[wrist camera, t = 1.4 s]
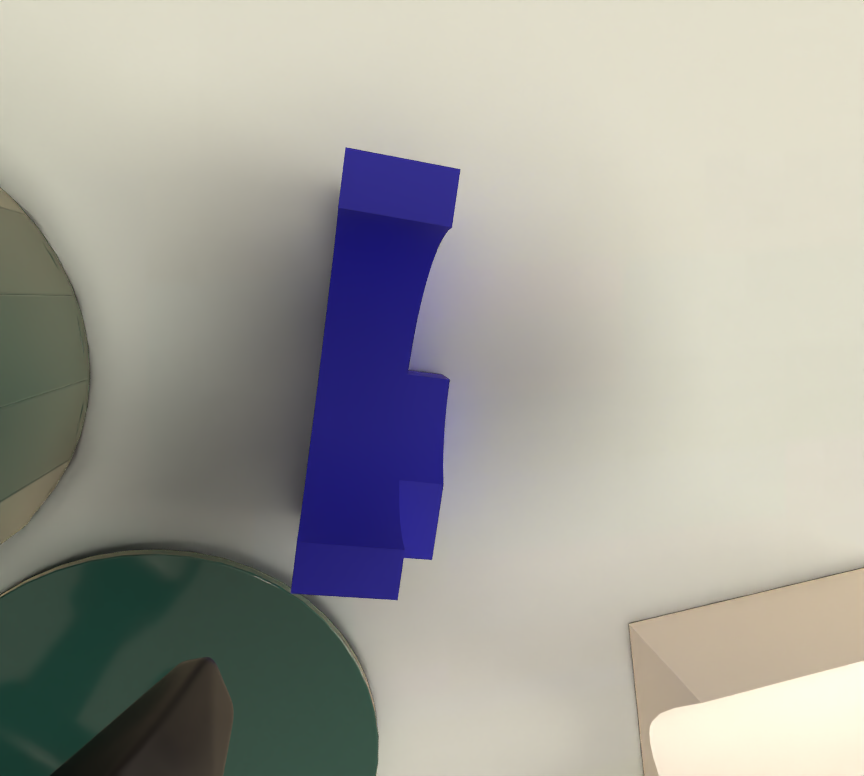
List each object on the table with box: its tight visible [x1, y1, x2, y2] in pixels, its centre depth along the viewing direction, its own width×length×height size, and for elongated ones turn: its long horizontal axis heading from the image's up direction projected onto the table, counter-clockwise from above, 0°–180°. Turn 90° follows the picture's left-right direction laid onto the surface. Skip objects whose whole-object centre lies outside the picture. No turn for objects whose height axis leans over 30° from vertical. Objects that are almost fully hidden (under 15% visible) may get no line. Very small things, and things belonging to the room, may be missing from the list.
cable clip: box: [291, 148, 460, 600], centre depth 19 cm, size 12×4×6 cm, turn 172°
